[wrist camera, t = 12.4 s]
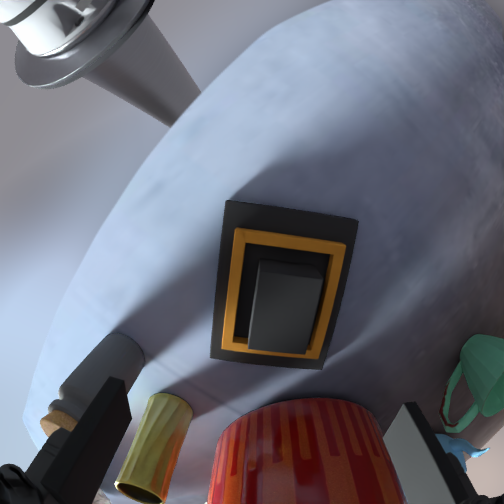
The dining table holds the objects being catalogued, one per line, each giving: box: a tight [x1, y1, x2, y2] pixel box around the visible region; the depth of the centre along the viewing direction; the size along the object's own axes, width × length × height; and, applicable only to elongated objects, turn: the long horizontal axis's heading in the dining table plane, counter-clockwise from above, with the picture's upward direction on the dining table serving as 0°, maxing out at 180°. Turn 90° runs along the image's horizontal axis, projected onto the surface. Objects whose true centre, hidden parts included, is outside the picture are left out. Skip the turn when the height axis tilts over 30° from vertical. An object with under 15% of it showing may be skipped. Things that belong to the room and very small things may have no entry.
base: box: [210, 200, 359, 370], centre depth 26 cm, size 16×12×2 cm
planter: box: [207, 398, 408, 504], centre depth 22 cm, size 23×23×20 cm
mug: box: [439, 334, 504, 433], centre depth 24 cm, size 15×10×10 cm
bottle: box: [40, 333, 145, 437], centre depth 22 cm, size 6×6×15 cm
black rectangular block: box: [248, 258, 323, 355], centre depth 24 cm, size 7×5×4 cm
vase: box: [115, 393, 193, 504], centre depth 24 cm, size 6×6×14 cm
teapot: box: [435, 434, 490, 473], centre depth 28 cm, size 12×18×12 cm
